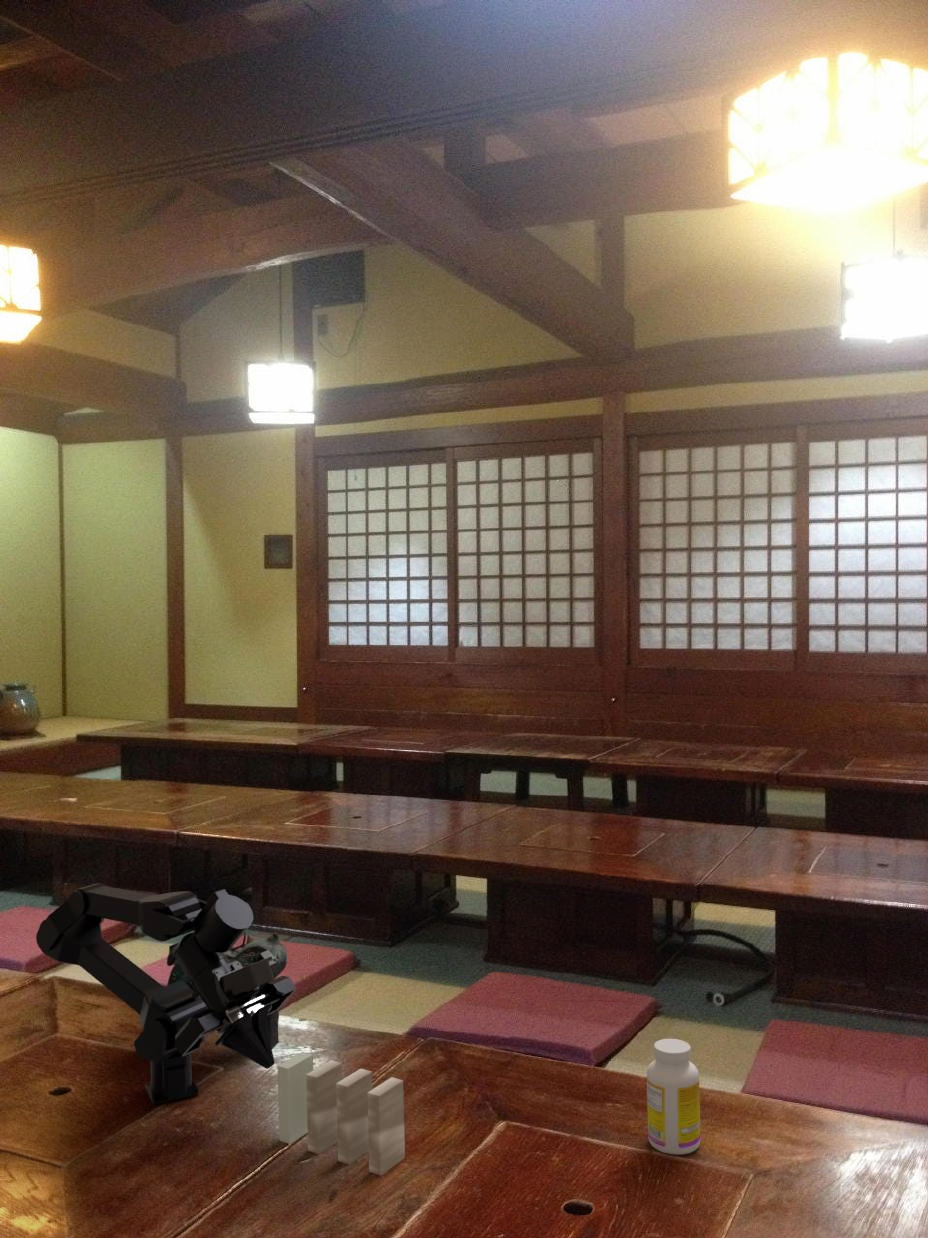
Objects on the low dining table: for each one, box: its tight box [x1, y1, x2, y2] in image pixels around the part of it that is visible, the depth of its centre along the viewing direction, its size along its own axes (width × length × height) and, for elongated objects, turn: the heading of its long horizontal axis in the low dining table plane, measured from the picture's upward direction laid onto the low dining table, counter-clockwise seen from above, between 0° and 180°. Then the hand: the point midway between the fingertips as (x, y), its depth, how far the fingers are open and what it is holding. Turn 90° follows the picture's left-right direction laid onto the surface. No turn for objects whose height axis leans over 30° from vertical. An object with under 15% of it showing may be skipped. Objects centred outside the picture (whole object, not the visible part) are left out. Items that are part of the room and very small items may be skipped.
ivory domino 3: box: [368, 1076, 406, 1177], centre depth 140 cm, size 2×5×10 cm, turn 147°
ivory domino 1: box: [306, 1059, 343, 1155], centre depth 146 cm, size 2×5×10 cm, turn 147°
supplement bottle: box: [646, 1038, 701, 1156], centre depth 144 cm, size 7×7×13 cm
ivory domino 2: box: [336, 1068, 373, 1165], centre depth 143 cm, size 2×5×10 cm, turn 147°
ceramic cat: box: [166, 931, 288, 1050], centre depth 178 cm, size 20×6×20 cm, turn 77°
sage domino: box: [276, 1051, 314, 1145], centre depth 148 cm, size 2×5×10 cm, turn 147°
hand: (271, 1066), depth 151 cm, fingers closed
